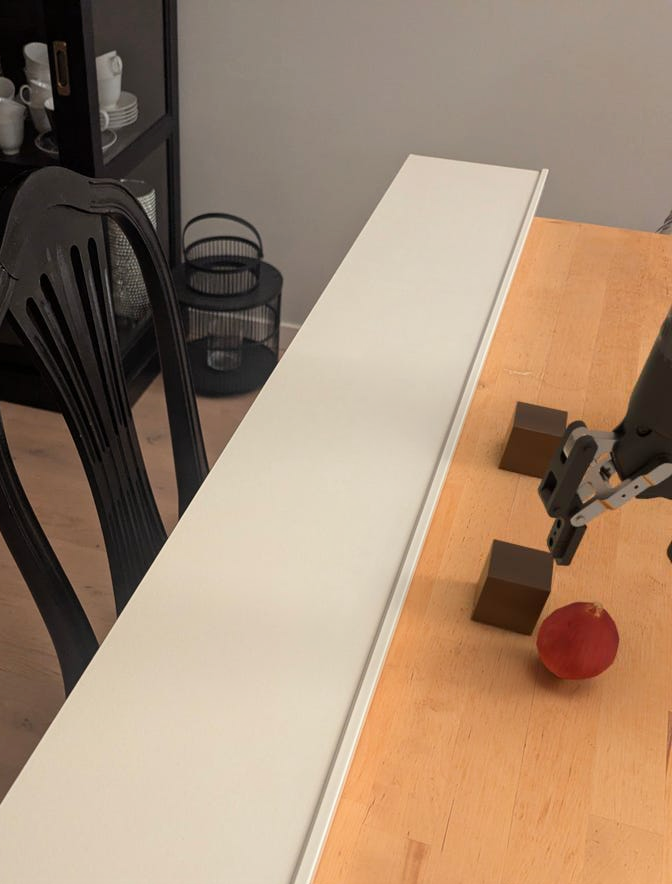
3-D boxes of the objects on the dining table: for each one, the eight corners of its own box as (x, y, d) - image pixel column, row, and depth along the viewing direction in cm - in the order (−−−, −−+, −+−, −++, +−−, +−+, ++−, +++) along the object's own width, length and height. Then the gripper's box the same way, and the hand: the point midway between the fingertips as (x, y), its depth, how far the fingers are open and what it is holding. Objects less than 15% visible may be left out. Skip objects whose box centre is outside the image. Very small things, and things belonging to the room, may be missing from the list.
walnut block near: (477, 582, 80) (493, 538, 76) (535, 597, 79) (554, 553, 75) (470, 619, 77) (487, 575, 73) (531, 635, 76) (551, 591, 72)
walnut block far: (502, 442, 96) (517, 400, 92) (551, 453, 95) (568, 411, 91) (498, 468, 92) (513, 425, 89) (548, 479, 91) (565, 437, 88)
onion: (518, 644, 75) (550, 571, 69) (589, 651, 75) (627, 578, 69) (530, 698, 71) (565, 625, 65) (605, 705, 71) (647, 633, 65)
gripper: (629, 377, 50) (534, 593, 62) (878, 388, 51) (737, 599, 62) (585, 313, 55) (505, 524, 67) (811, 324, 56) (693, 530, 68)
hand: (617, 560), depth 65 cm, fingers open, 8 cm apart
